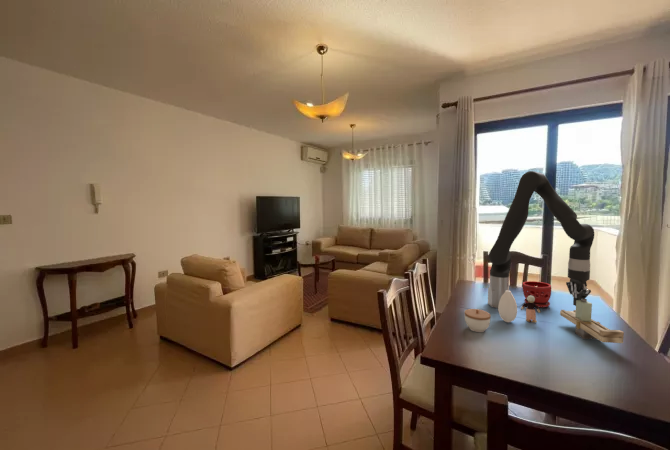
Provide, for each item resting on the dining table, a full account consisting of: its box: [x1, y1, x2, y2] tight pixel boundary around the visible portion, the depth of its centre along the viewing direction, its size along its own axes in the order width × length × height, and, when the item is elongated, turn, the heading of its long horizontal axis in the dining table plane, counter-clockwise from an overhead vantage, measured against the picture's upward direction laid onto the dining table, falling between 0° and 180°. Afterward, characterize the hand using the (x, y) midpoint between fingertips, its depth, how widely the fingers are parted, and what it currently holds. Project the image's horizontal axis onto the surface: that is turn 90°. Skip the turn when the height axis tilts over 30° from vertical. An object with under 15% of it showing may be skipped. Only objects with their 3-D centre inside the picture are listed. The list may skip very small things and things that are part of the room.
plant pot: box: [522, 280, 552, 308], centre depth 157 cm, size 13×13×12 cm
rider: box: [575, 298, 593, 321], centre depth 123 cm, size 4×4×9 cm
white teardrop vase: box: [497, 285, 518, 323], centre depth 136 cm, size 8×8×18 cm
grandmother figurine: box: [520, 296, 541, 323], centre depth 137 cm, size 8×4×13 cm, turn 65°
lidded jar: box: [464, 308, 492, 333], centre depth 130 cm, size 11×11×9 cm
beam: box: [559, 309, 625, 344], centre depth 121 cm, size 8×26×8 cm, turn 171°
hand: (576, 305), depth 128 cm, fingers closed
